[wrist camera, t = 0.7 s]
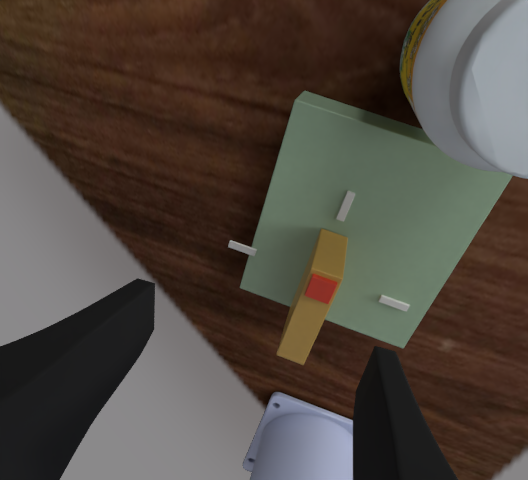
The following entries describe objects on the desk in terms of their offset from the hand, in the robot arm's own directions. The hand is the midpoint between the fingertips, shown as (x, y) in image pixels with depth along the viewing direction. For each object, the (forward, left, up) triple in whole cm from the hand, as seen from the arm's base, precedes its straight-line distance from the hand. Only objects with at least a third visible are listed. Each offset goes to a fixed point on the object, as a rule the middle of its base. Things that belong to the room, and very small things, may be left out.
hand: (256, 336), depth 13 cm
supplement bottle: (+9, -4, -10) cm, 14 cm away
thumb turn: (-2, -2, -7) cm, 8 cm away
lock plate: (0, -2, -10) cm, 10 cm away
